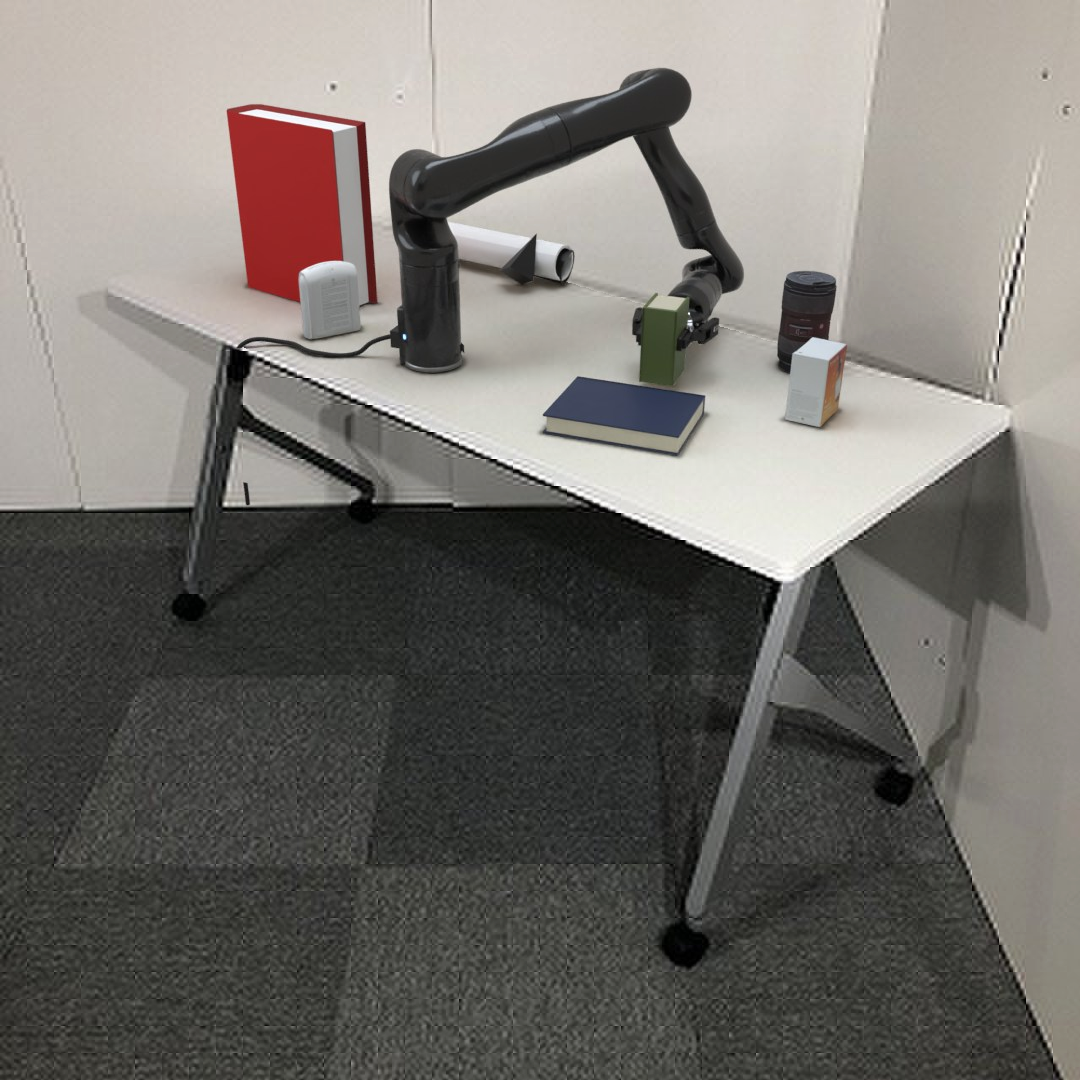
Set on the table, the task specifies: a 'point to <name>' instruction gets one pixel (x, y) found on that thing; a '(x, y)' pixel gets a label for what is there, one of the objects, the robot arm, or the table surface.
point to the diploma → (514, 254)
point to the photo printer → (329, 299)
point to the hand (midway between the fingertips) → (659, 342)
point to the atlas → (625, 415)
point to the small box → (815, 381)
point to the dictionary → (662, 339)
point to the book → (301, 196)
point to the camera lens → (804, 312)
